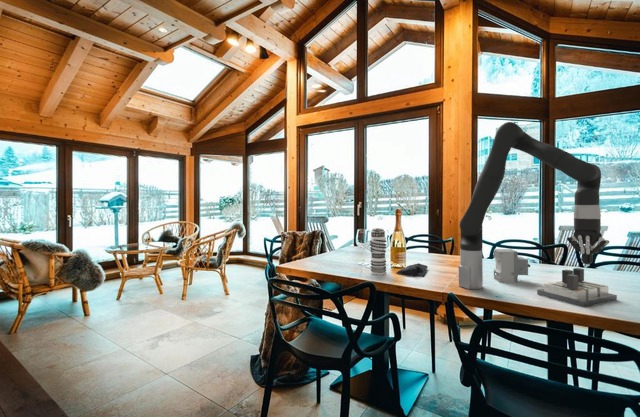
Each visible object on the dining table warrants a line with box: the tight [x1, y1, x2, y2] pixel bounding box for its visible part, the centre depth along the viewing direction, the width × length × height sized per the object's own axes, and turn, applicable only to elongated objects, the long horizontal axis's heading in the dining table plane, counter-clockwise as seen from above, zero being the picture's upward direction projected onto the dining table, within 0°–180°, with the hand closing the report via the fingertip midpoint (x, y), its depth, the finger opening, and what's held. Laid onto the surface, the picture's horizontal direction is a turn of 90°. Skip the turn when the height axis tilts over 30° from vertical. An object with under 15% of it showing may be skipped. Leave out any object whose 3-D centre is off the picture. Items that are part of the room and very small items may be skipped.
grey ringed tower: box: [369, 227, 387, 276], centre depth 175 cm, size 9×9×25 cm
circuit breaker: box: [493, 248, 531, 284], centre depth 153 cm, size 8×14×15 cm, turn 78°
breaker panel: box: [536, 267, 618, 308], centre depth 126 cm, size 20×17×10 cm
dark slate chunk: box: [396, 263, 428, 278], centre depth 176 cm, size 15×22×5 cm
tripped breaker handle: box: [567, 274, 578, 289], centre depth 121 cm, size 3×2×5 cm
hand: (587, 263), depth 116 cm, fingers closed
